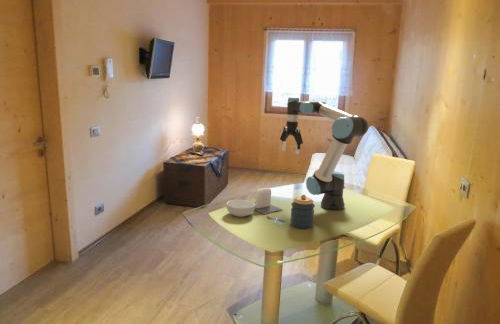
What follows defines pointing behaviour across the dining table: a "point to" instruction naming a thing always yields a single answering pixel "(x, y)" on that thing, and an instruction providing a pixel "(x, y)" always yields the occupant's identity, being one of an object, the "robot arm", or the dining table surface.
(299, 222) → the canister
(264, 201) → the beige rounded block
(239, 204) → the cereal bowl
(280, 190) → the dining table surface
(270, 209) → the mat
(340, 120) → the robot arm
